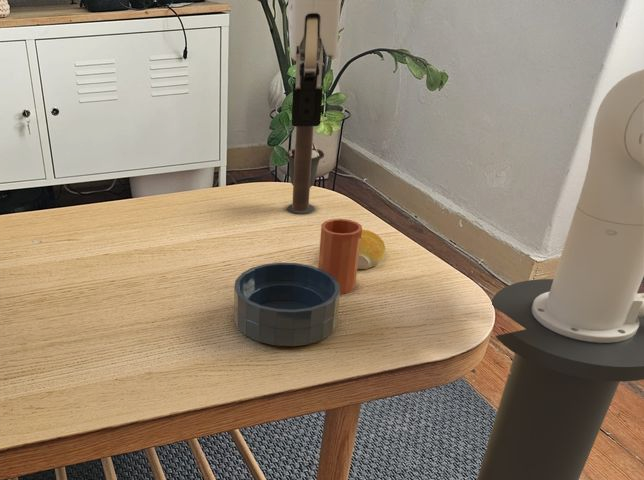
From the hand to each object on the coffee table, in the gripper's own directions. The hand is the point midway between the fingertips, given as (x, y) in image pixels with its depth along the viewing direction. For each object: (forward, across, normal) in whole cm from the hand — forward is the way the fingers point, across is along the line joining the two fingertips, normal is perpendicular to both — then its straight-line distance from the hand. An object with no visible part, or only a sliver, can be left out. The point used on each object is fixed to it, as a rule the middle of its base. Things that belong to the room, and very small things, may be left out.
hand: (305, 121), depth 74 cm
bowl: (+25, -4, +1) cm, 25 cm away
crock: (+25, +7, -6) cm, 26 cm away
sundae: (+25, +36, -1) cm, 44 cm away
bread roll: (+25, +16, -9) cm, 31 cm away
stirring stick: (+11, 0, 0) cm, 11 cm away
